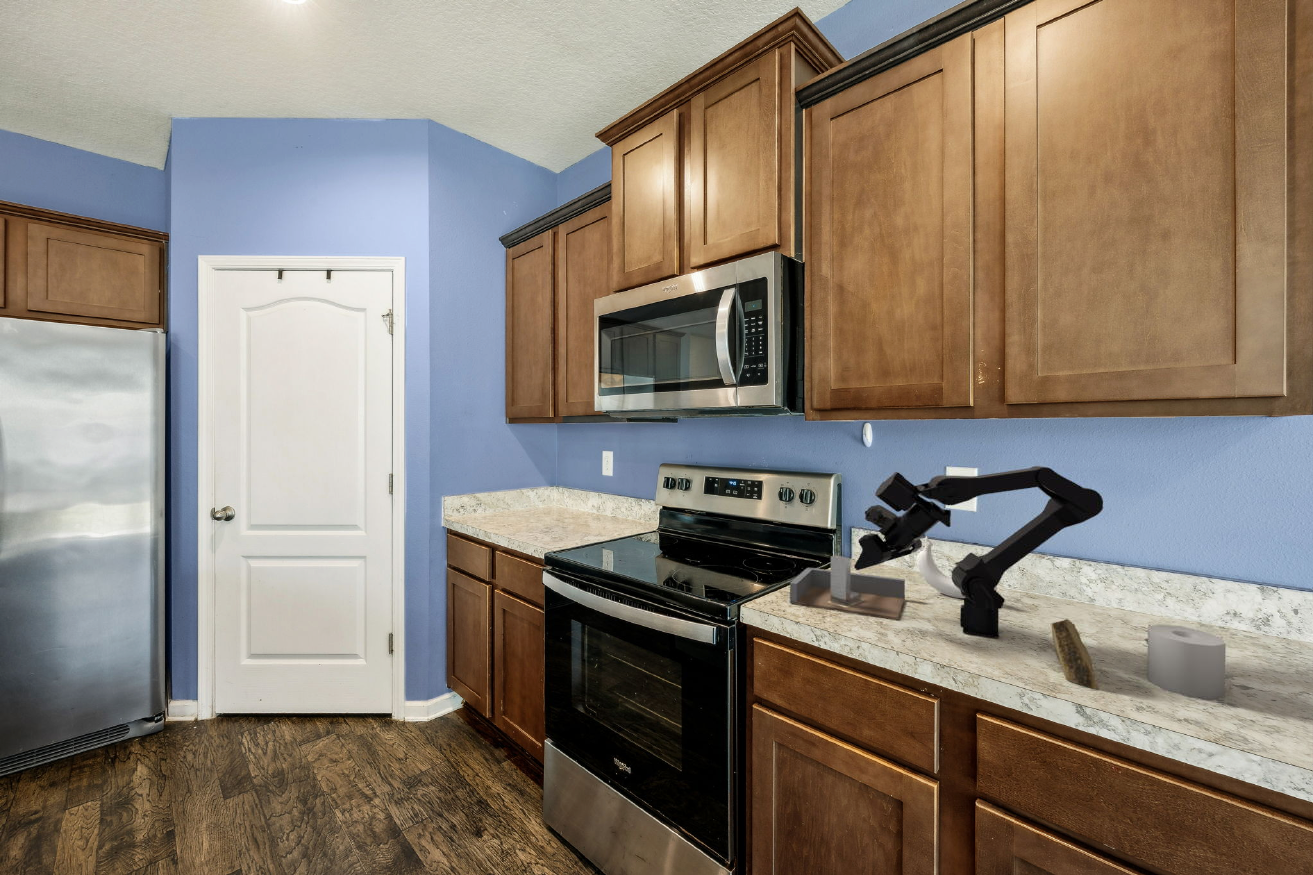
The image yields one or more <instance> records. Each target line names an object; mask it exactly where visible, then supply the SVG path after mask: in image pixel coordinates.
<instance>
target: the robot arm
mask: <svg viewBox="0 0 1313 875" xmlns="http://www.w3.org/2000/svg"><path fill="white" fill-rule="evenodd" d="M1033 488H1038V489H1039V490H1040V491H1042V493H1044V494H1045V495H1046V496H1048V497H1049V499H1048V500H1047V502H1046V505H1045V506H1044V509H1043V510H1042V512H1041V513H1039V514H1038V515H1037V516H1035V517H1034V518H1033V519H1032V520H1030V521H1028V522H1027V523H1026V524H1025V525H1023V526H1022V527H1021V528H1019V529H1018V530H1017V531H1015V532H1013V534H1012V535H1010V536H1008V537H1007V538H1006V539H1004V540H1003V541H1002V542H1001V543H999V544H998V545H996V546H995V547H994V548H993V549H991V550H989V551H988V552H986V554H982V555H979V556H978V555H977V554H975V553H973V552H969V553H967V555H966V556H965V557H964V558H963V559H961V560H960V561H957V562H954V565H956V566H955V567H954V568H953V569H952V570H951V577H950V578H952V582H953V583H954V585H955V586H956V587H957V588H959V589H960V591H961V594H962V595H963V596H965V597H966V598H963V604H960V618H959V619H960V628H962V633H963V634H967V635H968V634H970V635H976V636H982V637H989V638H993V639H994V638H995V639H1000V632H999V631H1000V630H999V620H1000V618H999V610H1000V609H1002V608H1003V606H1004V604H1005V601H1006V600H1005V597H1003V596H1002V595H1001V594H1000V593H999V592H998V591H997V590H995V589H994V588H995V587H996V586H998V585H999V583H1000V582H1001V579H1002V578H1003V575H1004V574H1005V572H1006V571H1007V570H1009V569H1010V568H1011V567H1013V566H1014V565H1016V564H1017V563H1018V562H1020V561H1021V560H1022V559H1024V558H1025V557H1027V556H1028V555H1029V554H1031V553H1032V552H1033V551H1035V550H1036V549H1037V548H1039V547H1040V546H1041V545H1043V544H1044V543H1045V542H1047V541H1048V540H1050V539H1051V538H1052V537H1054V536H1055V535H1056V534H1057V533H1059V532H1061V531H1062V530H1063V529H1065V528H1066V529H1067V528H1069V527H1072V526H1076V525H1080V524H1082V523H1084V522H1086V521H1089V520H1090V519H1092V518H1094V517H1096V516H1098V515H1100V513H1101V512H1102V511H1103V509H1104V499H1103V497H1102V495H1101V494H1100V493H1099V492H1098V491H1097V490H1096V489H1092V488H1088V487H1082V486H1081V485H1080V484H1077V483H1076V482H1074V481H1072V480H1070V479H1068V478H1066V477H1064V476H1062V475H1060V474H1059V473H1058V472H1057V471H1054V470H1053V469H1052V468H1050V467H1047V466H1041V465H1034V466H1032V467H1028V468H1023V469H1014V470H1008V471H1002V472H1001V471H1000V472H995V473H987V474H982V475H973V476H972V475H970V476H965V475H944V474H943V475H941V474H940V475H936V476H933V477H931V479H930V480H929V482H925V483H921V484H917V485H914V484H913V483H912V482H910V480H908V479H906V478H905V476H904V475H902V474H901V473H900V472H898V471H895V472H893V474H892V475H891V476H889V477H888V478H886V480H884V481H883V482H881V484H880V485H879V486H878V488H877V489H876V491H875V494H874V496H875V497H877V499H879V500H880V501H882V502H883V503H885V505H887V506H889V507H890V508H891V509H893V510H894V511H895V512H896V513H900V512H901V511H903V512H904V513H903V514H901V515H900V516H898V515H897V514H896V513H895V512H893V511H891V510H889V509H888V508H887V507H884V506H882V505H879V504H876V505H871V506H870V507H868V509H867V510H865V511H864V514H865V515H864V516H865V517H864V520H866V521H867V522H871V524H873V525H875V526H877V528H880V529H878V531H879V533H880V534H881V535H882V536H883V539H884V540H883V539H882V538H881V536H880V535H879V534H878V533H868V534H864V535H862V536H861V538H859V539H858V544H859V545H860V548H861V549H862V550H861V552H860V555H859V557H858V558H857V560H856V562H855V564H854V569H855V570H856V571H860V570H863V569H867V568H871V567H873V566H876V565H880V564H884V563H885V562H889V561H893V560H896V559H898V558H902V557H906V556H909V555H912V554H914V553H917V552H918V551H919V550H920V549H921V548H923V545H922V544H923V542H922V539H924V537H926V534H927V532H929V531H930V530H931V529H932V528H934V526H935V525H937V524H938V523H939V522H941V524H943V525H944V526H946V527H947V528H950V527H951V525H952V524H951V521H952V520H951V517H952V511H951V509H944V508H942V507H941V506H940V505H938V504H936V503H935V502H938V503H940V504H942V505H945V506H955V505H958V504H961V503H965V502H969V501H971V500H973V499H975V498H977V497H979V496H983V495H989V494H990V495H991V494H998V493H1004V492H1012V491H1013V492H1014V491H1019V490H1026V489H1033ZM923 497H924V498H923ZM925 498H926V499H925ZM927 499H928V500H930V501H928V500H927ZM931 500H933V501H935V502H933V501H931Z"/></svg>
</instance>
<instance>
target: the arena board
mask: <svg viewBox="0 0 1313 875" xmlns="http://www.w3.org/2000/svg"><path fill="white" fill-rule="evenodd" d="M856 593H859V592H856ZM860 594H861V600H860V601H858V602H855V603H853V604H850V605H848V606H843V605H839V604H835V603H832V602H831V589H830V588H822V587H815V586H812V587H811V588H810V589H809V590H808V591H807V592H806V593H805V594H804V595H803V596H802V597H801V598H800V599H799V600H798V601H797V603H796V602H795V603H796V604H794V602H792V603H793V604H792V605H797V604H800V605H799V606H803V605H804V606H805V607H809V606H812V607H811V608H816V609H822V608H824V610H829V611H835V610H837V611H836V612H842V611H844V612H843V613H847V614H848V613H849V614H855V613H857V615H864V616H868V615H870V616H869V617H874V618H881V619H889V620H893V619H894V621H898V619H899V617H900V614H901V611H902V609H903V605H904V603H905V600H904V599H902V598H895V597H888V596H881V595H873V594H866V593H860Z"/></svg>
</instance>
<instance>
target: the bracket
mask: <svg viewBox="0 0 1313 875" xmlns="http://www.w3.org/2000/svg"><path fill="white" fill-rule="evenodd" d="M851 559H852V558H850V557H846V556H842V555H831V556H830V570H831V602H832V603H835V604H839V605H843V606H848V605H850V604H853V603H855V602H858V601H860V600H861V594H860V593H856V592H852V591H850V573H851Z"/></svg>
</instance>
